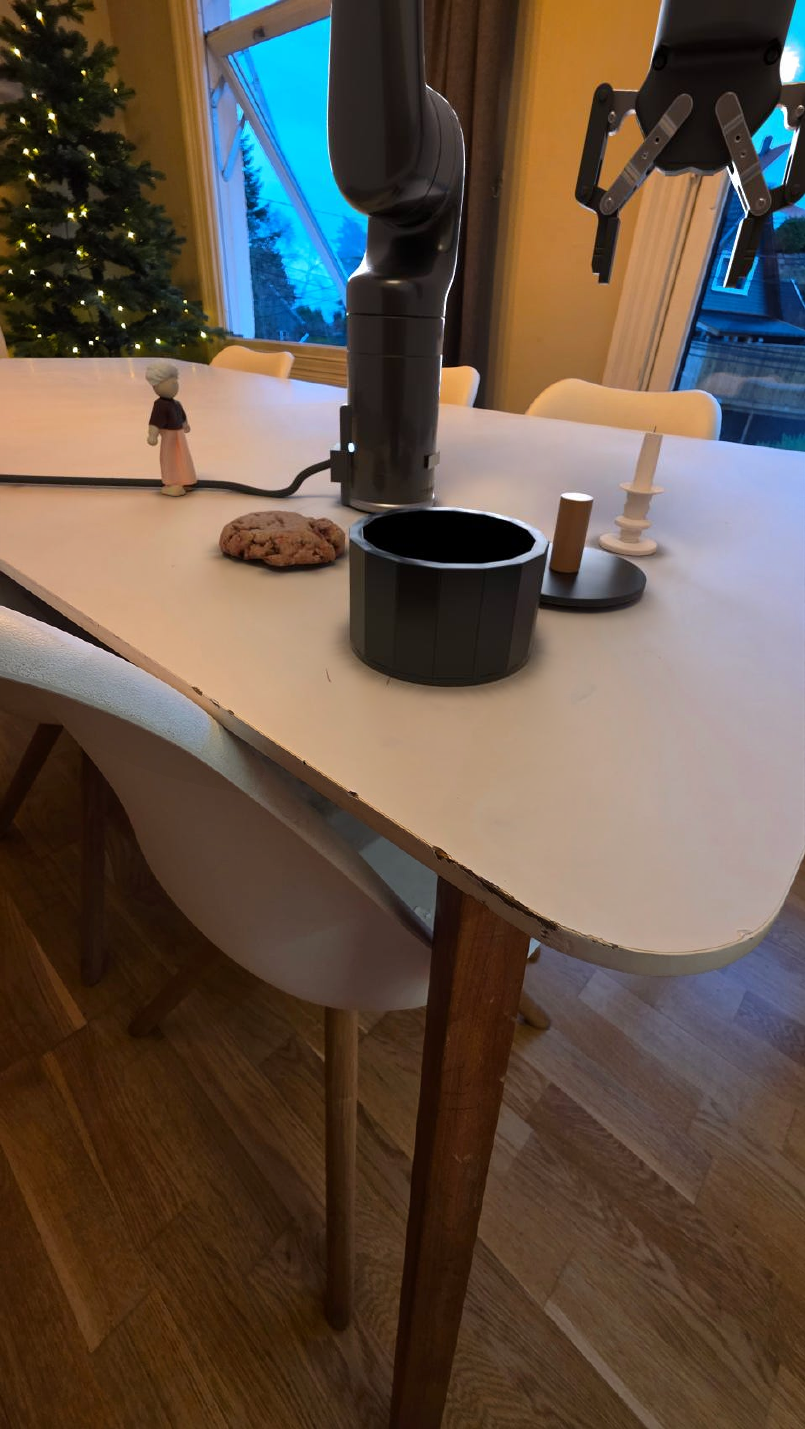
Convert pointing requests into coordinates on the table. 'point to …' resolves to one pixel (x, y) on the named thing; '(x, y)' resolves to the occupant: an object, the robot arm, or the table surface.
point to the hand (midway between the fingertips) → (664, 285)
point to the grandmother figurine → (170, 429)
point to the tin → (444, 593)
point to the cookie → (282, 538)
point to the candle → (637, 504)
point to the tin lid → (585, 563)
